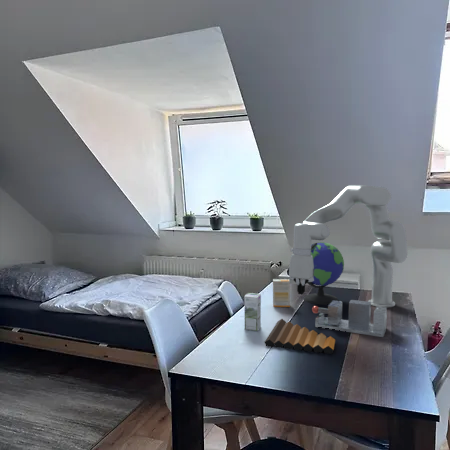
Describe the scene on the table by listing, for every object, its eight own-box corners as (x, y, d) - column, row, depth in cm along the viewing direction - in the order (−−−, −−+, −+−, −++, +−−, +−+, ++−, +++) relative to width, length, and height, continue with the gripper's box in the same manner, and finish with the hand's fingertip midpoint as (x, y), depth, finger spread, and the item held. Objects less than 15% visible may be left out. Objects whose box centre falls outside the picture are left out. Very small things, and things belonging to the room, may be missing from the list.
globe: (338, 308, 204) (340, 246, 201) (294, 302, 214) (294, 244, 211) (346, 296, 224) (347, 240, 221) (305, 292, 234) (306, 238, 231)
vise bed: (321, 319, 188) (322, 299, 187) (386, 328, 176) (387, 306, 175) (315, 327, 178) (315, 305, 177) (383, 337, 166) (384, 314, 165)
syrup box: (261, 327, 179) (261, 293, 177) (257, 331, 173) (257, 296, 172) (248, 325, 181) (248, 292, 179) (244, 330, 175) (244, 295, 174)
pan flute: (277, 325, 182) (264, 347, 158) (277, 318, 181) (264, 338, 158) (337, 331, 174) (333, 355, 150) (338, 323, 173) (333, 346, 150)
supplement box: (289, 304, 211) (289, 278, 209) (289, 307, 206) (290, 281, 205) (272, 304, 212) (272, 278, 210) (272, 307, 207) (272, 280, 206)
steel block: (350, 322, 180) (351, 299, 179) (370, 325, 176) (371, 302, 175) (348, 326, 175) (348, 302, 174) (368, 329, 172) (369, 305, 171)
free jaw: (314, 314, 188) (314, 298, 187) (341, 318, 183) (342, 301, 182) (309, 320, 180) (309, 303, 179) (337, 325, 175) (337, 307, 174)
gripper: (282, 251, 183) (281, 293, 185) (317, 254, 177) (315, 297, 178) (288, 249, 190) (287, 289, 192) (321, 252, 183) (320, 293, 185)
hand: (301, 293), depth 185 cm, fingers closed
